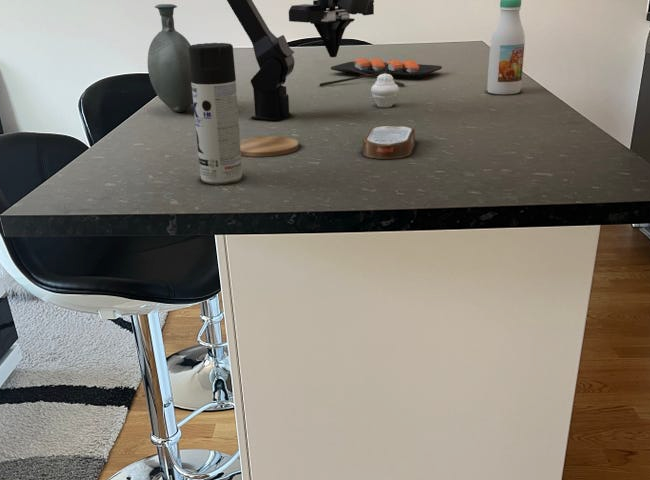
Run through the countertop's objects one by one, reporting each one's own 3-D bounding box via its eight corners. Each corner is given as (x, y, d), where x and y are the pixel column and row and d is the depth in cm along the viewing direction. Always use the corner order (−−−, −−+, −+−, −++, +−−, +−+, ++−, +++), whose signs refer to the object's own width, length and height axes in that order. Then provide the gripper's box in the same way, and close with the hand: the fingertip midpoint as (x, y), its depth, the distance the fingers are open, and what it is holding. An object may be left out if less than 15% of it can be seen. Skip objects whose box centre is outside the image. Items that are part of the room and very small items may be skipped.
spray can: (202, 174, 126) (188, 43, 116) (243, 172, 126) (233, 41, 117) (199, 186, 120) (185, 48, 110) (243, 183, 120) (232, 46, 111)
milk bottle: (483, 94, 180) (490, 0, 170) (490, 88, 186) (496, -3, 176) (517, 95, 177) (525, 0, 167) (522, 90, 183) (531, -3, 174)
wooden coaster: (219, 153, 138) (219, 148, 138) (254, 138, 147) (254, 134, 147) (277, 159, 133) (277, 154, 133) (310, 143, 142) (310, 139, 142)
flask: (207, 102, 181) (196, -1, 170) (200, 117, 166) (189, 5, 156) (157, 105, 181) (144, 2, 170) (146, 120, 166) (131, 8, 155)
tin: (359, 158, 132) (408, 163, 130) (360, 140, 130) (410, 144, 129) (371, 138, 144) (416, 142, 143) (372, 121, 143) (418, 124, 142)
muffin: (374, 109, 168) (375, 75, 165) (367, 104, 173) (367, 71, 170) (402, 107, 169) (402, 74, 166) (394, 102, 174) (394, 69, 171)
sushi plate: (445, 73, 208) (446, 58, 206) (394, 91, 186) (394, 75, 184) (353, 67, 222) (352, 53, 220) (294, 84, 200) (293, 68, 198)
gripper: (326, -27, 138) (328, 66, 145) (394, -32, 149) (393, 54, 157) (284, -27, 145) (289, 61, 152) (352, -32, 156) (353, 50, 164)
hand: (333, 57), depth 156 cm, fingers closed
